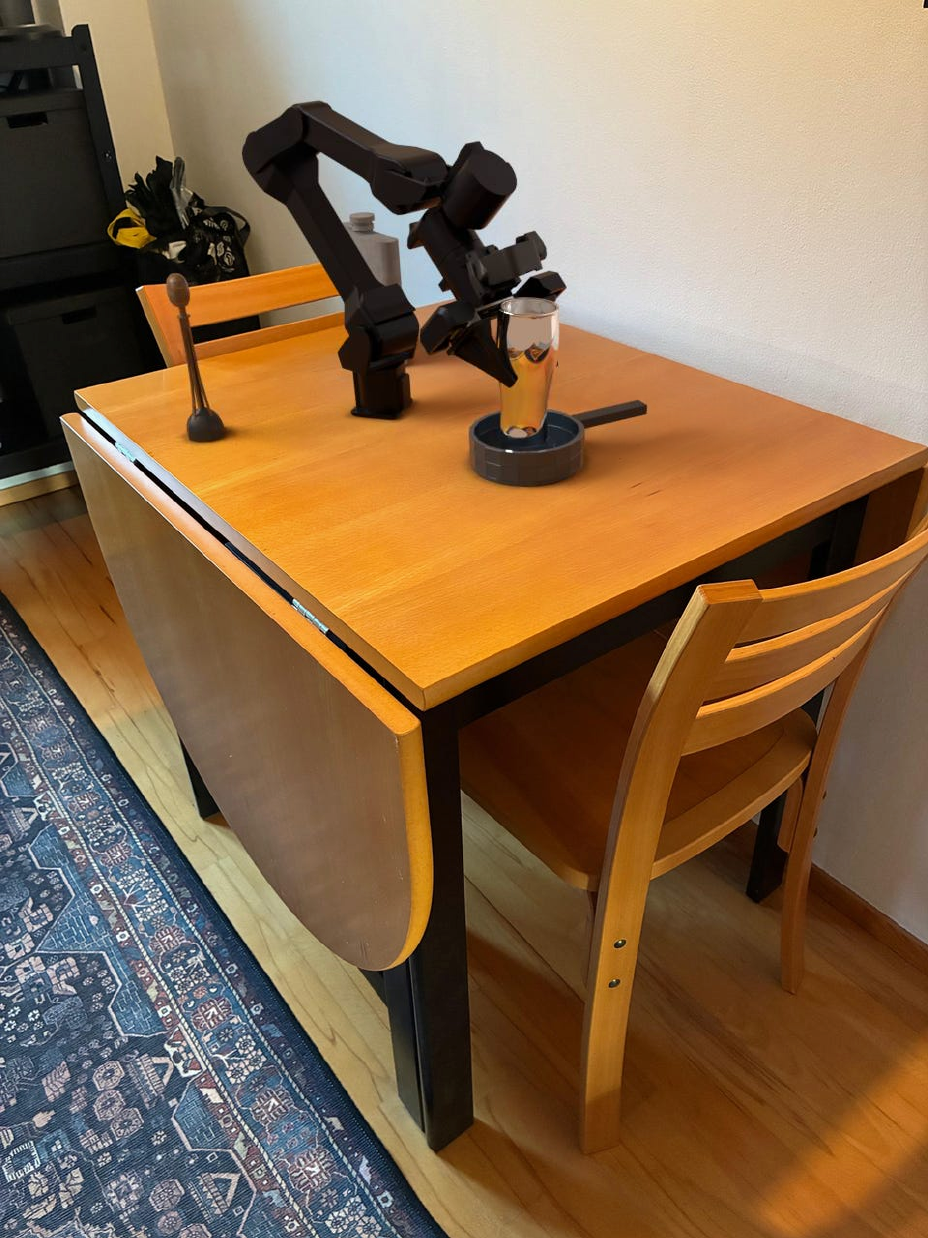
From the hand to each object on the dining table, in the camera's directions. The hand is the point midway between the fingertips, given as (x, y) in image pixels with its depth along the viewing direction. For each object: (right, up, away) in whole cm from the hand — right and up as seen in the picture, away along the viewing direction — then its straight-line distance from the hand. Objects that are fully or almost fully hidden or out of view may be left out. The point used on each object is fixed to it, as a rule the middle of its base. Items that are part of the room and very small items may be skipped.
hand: (534, 376), depth 107 cm
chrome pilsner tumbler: (-1, -6, +5) cm, 8 cm away
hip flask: (-21, +14, +41) cm, 48 cm away
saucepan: (0, -8, +7) cm, 11 cm away
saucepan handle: (+10, -3, +9) cm, 13 cm away
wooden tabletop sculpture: (-41, -3, +17) cm, 44 cm away
